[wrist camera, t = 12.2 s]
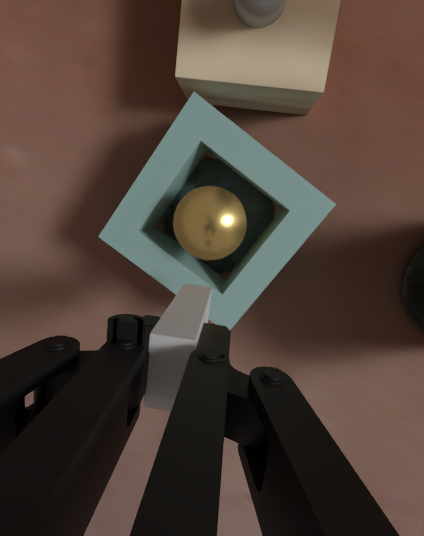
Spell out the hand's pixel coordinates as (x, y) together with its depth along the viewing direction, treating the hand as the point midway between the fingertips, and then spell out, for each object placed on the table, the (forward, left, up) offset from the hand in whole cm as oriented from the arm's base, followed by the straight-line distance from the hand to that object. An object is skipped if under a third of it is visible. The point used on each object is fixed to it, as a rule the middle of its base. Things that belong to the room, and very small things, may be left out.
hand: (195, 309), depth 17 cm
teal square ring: (-4, 0, -7) cm, 8 cm away
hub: (-4, 0, -9) cm, 10 cm away
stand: (-16, +1, -9) cm, 19 cm away
